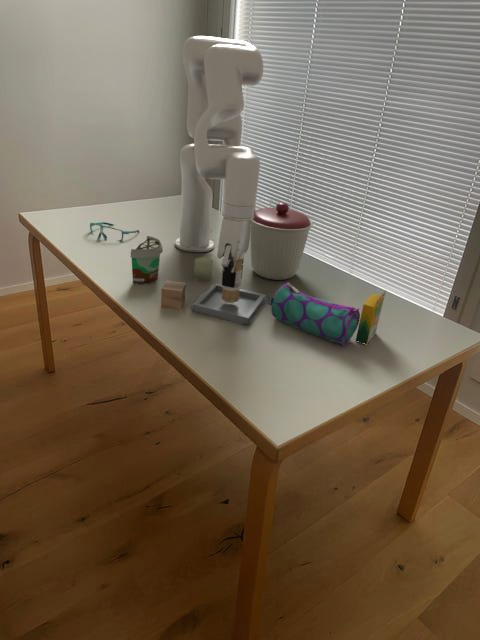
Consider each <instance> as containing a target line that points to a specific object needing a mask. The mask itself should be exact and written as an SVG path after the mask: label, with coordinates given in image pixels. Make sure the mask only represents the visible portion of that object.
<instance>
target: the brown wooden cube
mask: <svg viewBox="0 0 480 640" xmlns="http://www.w3.org/2000/svg"><path fill="white" fill-rule="evenodd" d="M186 284H187V283H186V282H182V281H175V280H174V281H172V280H165V282H164V284H163V285H162V287H161V293H160V294H161V295H160V296H161V297H160V298H161V303H160V307H161V308H167V309H176V310H182V309H183V307H184V304H185V302H186V286H187V285H186Z"/></svg>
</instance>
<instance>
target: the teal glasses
mask: <svg viewBox="0 0 480 640" xmlns="http://www.w3.org/2000/svg"><path fill="white" fill-rule="evenodd" d="M95 225H96V226H99V227H100V230H99V232H98V233H99V234H98V236H97V239H101V236H102V237H103V239H104V240H105V241H108V237H107V235H106V234H105V232H103V231H104V228H107V229H111V230H116V231H119V232H121V239H120V240H117V242H122V241H123V240H124V235H130V234H136V233H140V232H139V231H140V230H139V229H136V230H122V229H117V228H116V227H113V226H111V225H115V224H113V223H111V222H107V221H99V222H90V224H89V228H90V234H91V235H92V236H94V233H93V229H92V228H93V227H94V226H95Z"/></svg>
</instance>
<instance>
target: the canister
mask: <svg viewBox="0 0 480 640" xmlns="http://www.w3.org/2000/svg"><path fill="white" fill-rule="evenodd" d="M313 225H314V222H313V220H312V219H310V218H309V217H308V216H307V215H305V214H304V213H302V212H299V211H296V210H295V209H294V210H293V209H290V207H289V205H288V204H287V203H286V202H278V203H277V204H276V207H264V208H260V209H257V210H255V215H254V219H252V220H251V229H250V259H251V260H250V262H251V268H252V270H253V272H254V273H255V274H257V276H260V277H261V278H265V279H269V280H274V281H275V280H276V281H283V280H288V279H291V278H292V277H294V276H295V275H296V273H297V271H298V270H299V267H300V264H301V261H302V257H303V254H304V251H305V248H306V244H307V239H308V238H309V237H308V236H309V233H310V229H311V228H312V227H313Z"/></svg>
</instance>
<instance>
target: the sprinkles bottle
mask: <svg viewBox="0 0 480 640" xmlns="http://www.w3.org/2000/svg"><path fill="white" fill-rule="evenodd" d="M243 257H245V254H244V252H243V253H242V256H241V258H240V259H239V260H237V261H236V267H235V272H236V279H235V287H234V288H231V287H227V286H223V291H222V300H224V301H225V302H229V303H234V302H237V301H238V300H239V291H240V289H241V284H242V279H241V275H242V276H243V270H242V265H243V264H242V260H243ZM230 259H233V257H230ZM229 264H231V265H232V264H233V262H229Z"/></svg>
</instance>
